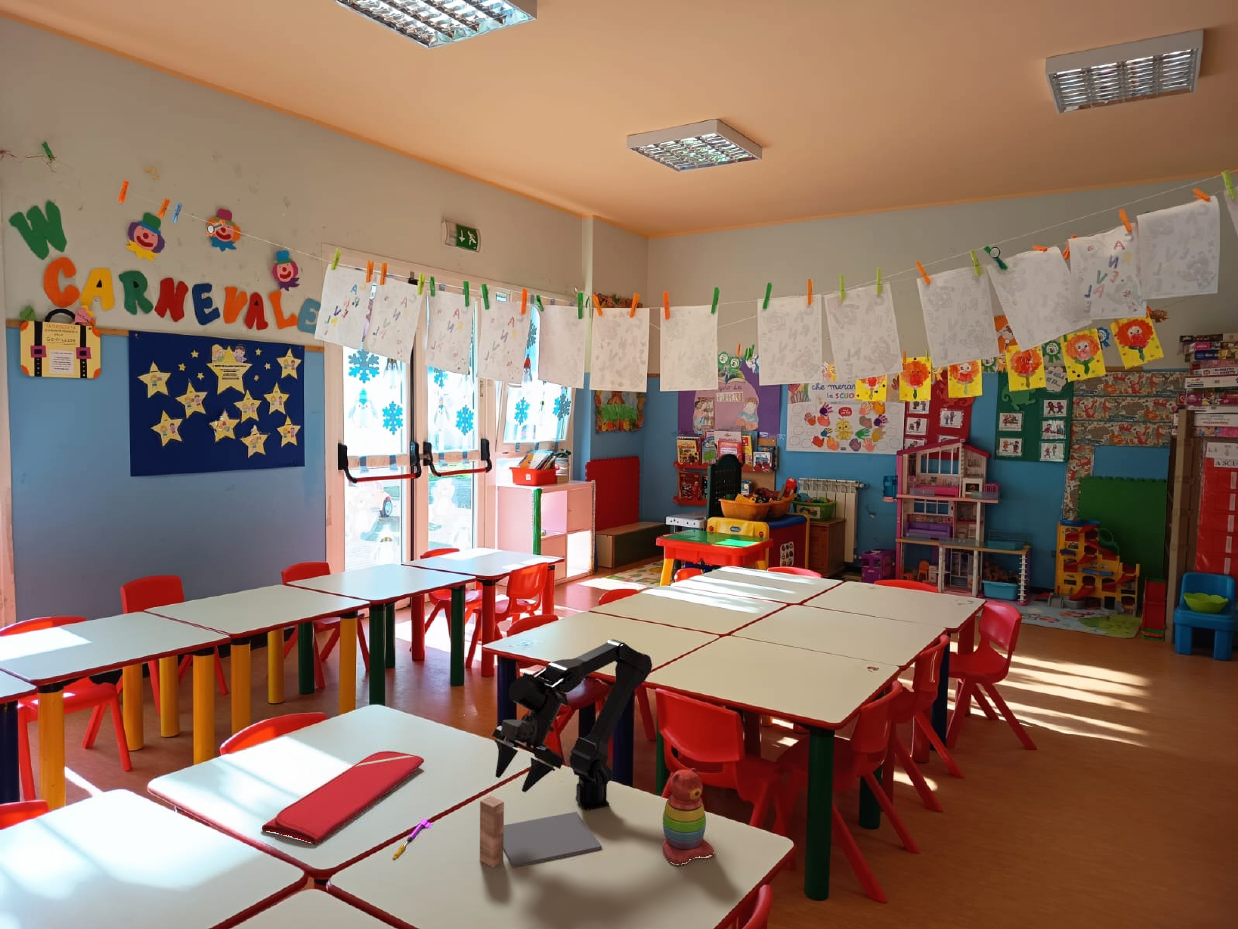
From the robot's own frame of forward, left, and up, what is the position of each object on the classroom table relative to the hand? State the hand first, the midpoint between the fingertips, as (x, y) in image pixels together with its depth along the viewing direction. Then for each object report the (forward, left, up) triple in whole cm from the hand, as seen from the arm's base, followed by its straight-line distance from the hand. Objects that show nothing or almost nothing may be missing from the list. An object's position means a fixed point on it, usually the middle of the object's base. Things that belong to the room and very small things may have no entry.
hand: (510, 784), depth 181 cm
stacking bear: (-34, +17, -13) cm, 41 cm away
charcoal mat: (-8, +2, -13) cm, 15 cm away
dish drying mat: (+31, -33, -14) cm, 47 cm away
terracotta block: (+6, +6, -13) cm, 15 cm away
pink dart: (+20, -8, -13) cm, 25 cm away
